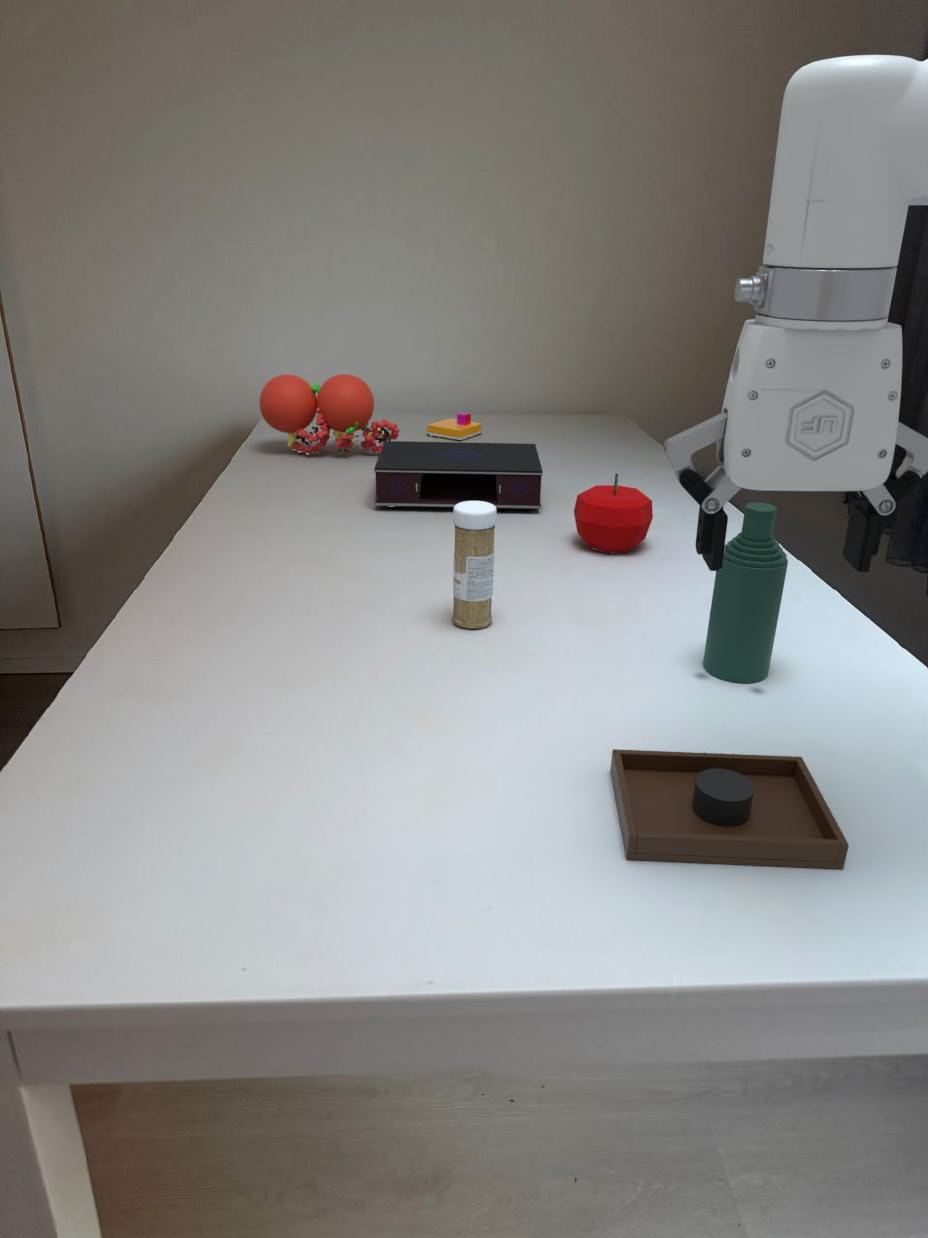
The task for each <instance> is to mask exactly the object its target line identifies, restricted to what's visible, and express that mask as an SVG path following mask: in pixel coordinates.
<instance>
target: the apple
mask: <svg viewBox="0 0 928 1238" xmlns="http://www.w3.org/2000/svg"><path fill="white" fill-rule="evenodd" d="M618 482H619V473H615V475H614V484H603V485H602V484H598V485H594V486H592V487H590V488H588V489H586V490H584V491H582V492H580V493H578V494H577V495H576V499H575V504H574V509H573V516H574V521H575V526H576V533H577V535H578V536H579V538H581V540H582V541H583V542H584V543H585V542H586V543H587V544H588V545H589V546H590V547H589V546H588V545H587V544H586V543H585V544H586V545H587V546H588V547H589V548H590V549H592V548H594V549H597V550H601V551H604V552H603V553H605V552H608V553H610V554H612V553H611V552H622V553H626V552H625V551H627V552H629V551H631V550H633V549H634V547H635V548H636V547H637V546H639V545H640V544H641V543H642V542H644V541H645V540H646V537H647V535H648V533H649V529H650V526H651V524H652V521H653V518H654V517H653V499H651V498H649V497H648V496H647V495H646V494H645V493H643V492H642V491H640V489H638V488H636V487H630V486H625V485H618ZM632 548H633V549H632ZM597 550H596V551H597ZM601 551H600V552H601ZM608 553H607V554H608Z"/></svg>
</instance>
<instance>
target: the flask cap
mask: <svg viewBox="0 0 928 1238" xmlns="http://www.w3.org/2000/svg"><path fill="white" fill-rule="evenodd" d="M753 795H754V786H753V784H752V782H751V781H750V780H749V779H748V778H746V777H745V776H743V775H742V774H739V773H737V772H735V771H731V770H727V769H718V768H715V769H708V770H704V771H702V772H700V773H699V774H698V775H697V777H696V781H695V788H694V794H693V801H692V807H693V810H694V812H695V813H696V814H697V815H698V816H699V817H700V818H702V819H703V820H705V821H707V822H709V823H712V824H715V825H719V826H728V827H730V826H738V825H741V824H743V823H745V822H746V821H747V820H748V819H749V816H750V811H751V806H752V800H753Z"/></svg>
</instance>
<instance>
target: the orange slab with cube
mask: <svg viewBox="0 0 928 1238" xmlns="http://www.w3.org/2000/svg"><path fill="white" fill-rule="evenodd" d="M471 416H472V414H471V413H469V412H459V413H457V414H456V418H451V417H449V418H445V419H442V420H439V421H435V422H431V423H429V424H427V427H426V428H427V429H426V431H427V432H432V433H437V434H442V435H447V436H453V437H459V438H461V437H463V436H466V435H469V434H473V433H475V432H478V431H481V430H483V428H482V425H483V424H482V423H481V422H477V421H471V418H472V417H471ZM427 432H426V433H427Z"/></svg>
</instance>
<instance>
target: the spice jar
mask: <svg viewBox="0 0 928 1238" xmlns="http://www.w3.org/2000/svg"><path fill="white" fill-rule="evenodd" d="M497 511H498V510H497V508H496V507H495V506H494V505H493V504H491V503H488V502H483V501H465V502H460V503H458V504H456V505H455V506H454V507H453V511H452V513H453V514H452V521H453V524H454V553H453V582H452V585H453V586H452V588H453V589H452V594H453V602H452V603H453V607H452V615H451V621H452V623H453V624H455V625H456V626H457V627H460V628H463V629H481V628H482V629H483V628H486V627H488V626H490V625H491V623H492V621H493V616H492V603H493V602H492V601H493V600H492V597H493V594H494V593H493V592H494V590H493V589H494V573H495V572H494V571H495V569H494V568H495V530H496V524H497V515H498V514H497V513H498V512H497Z"/></svg>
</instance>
